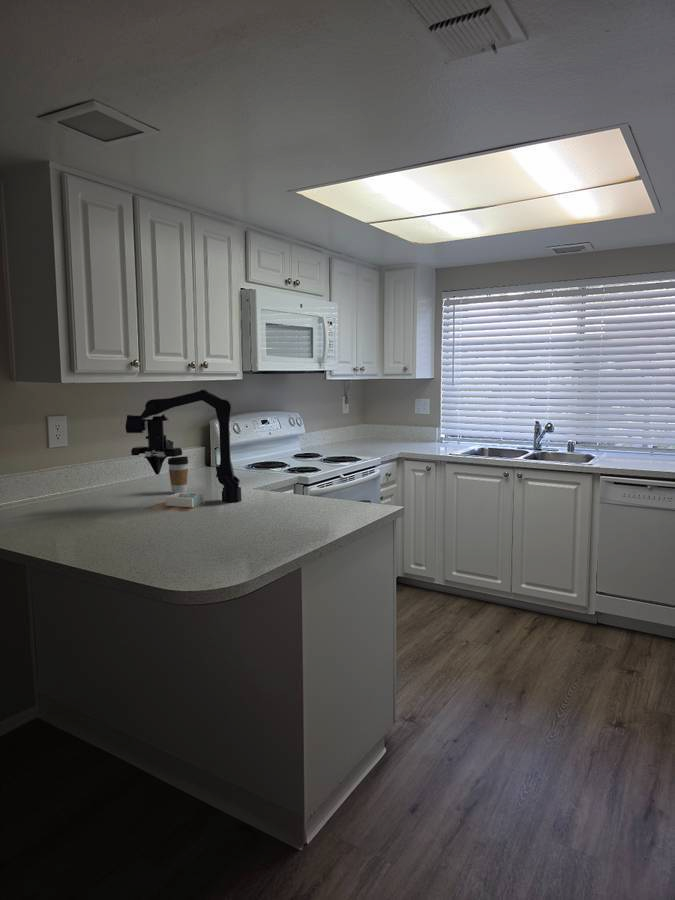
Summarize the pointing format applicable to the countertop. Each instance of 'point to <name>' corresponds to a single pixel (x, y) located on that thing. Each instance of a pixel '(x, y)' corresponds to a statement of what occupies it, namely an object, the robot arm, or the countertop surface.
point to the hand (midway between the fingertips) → (157, 474)
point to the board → (172, 507)
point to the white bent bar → (181, 500)
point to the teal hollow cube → (196, 498)
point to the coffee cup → (178, 474)
